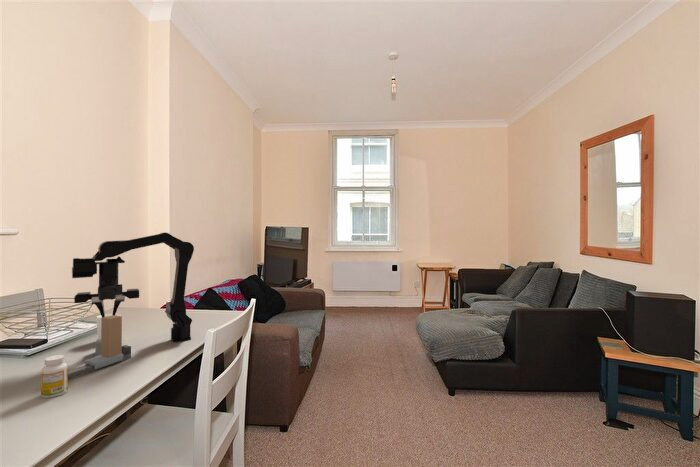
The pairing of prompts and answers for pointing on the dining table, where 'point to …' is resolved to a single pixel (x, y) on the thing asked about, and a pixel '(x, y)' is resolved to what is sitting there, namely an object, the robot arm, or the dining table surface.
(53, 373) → the supplement bottle
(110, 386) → the dining table surface
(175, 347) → the dining table surface
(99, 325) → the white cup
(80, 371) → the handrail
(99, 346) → the gauge cabinet
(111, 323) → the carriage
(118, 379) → the dining table surface
